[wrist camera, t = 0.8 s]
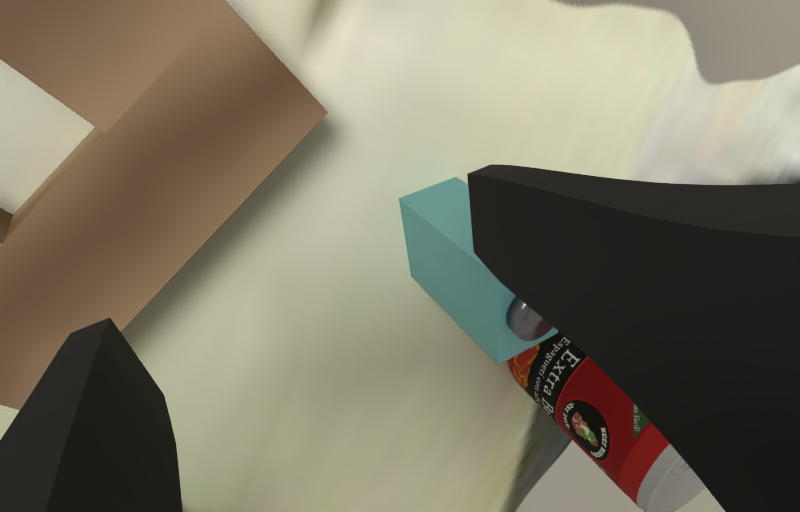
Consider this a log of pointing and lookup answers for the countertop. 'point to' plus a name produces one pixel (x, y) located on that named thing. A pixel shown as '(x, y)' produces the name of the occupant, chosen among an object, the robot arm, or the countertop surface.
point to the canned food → (605, 424)
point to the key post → (465, 273)
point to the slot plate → (133, 159)
